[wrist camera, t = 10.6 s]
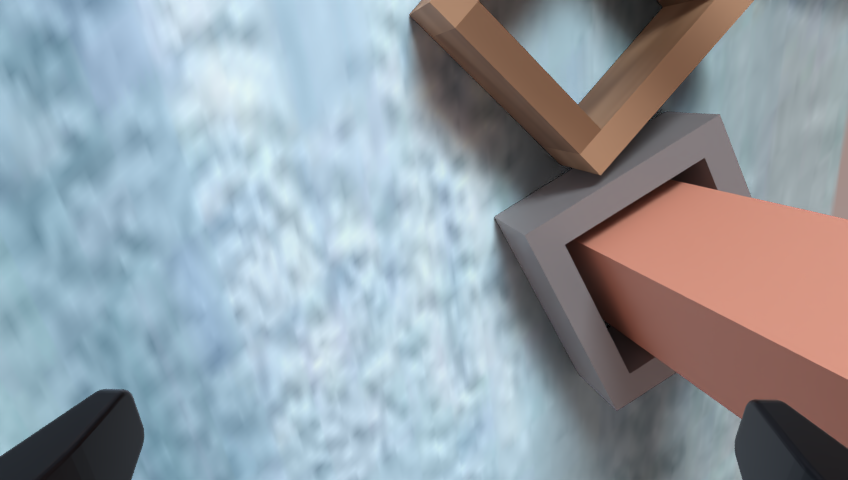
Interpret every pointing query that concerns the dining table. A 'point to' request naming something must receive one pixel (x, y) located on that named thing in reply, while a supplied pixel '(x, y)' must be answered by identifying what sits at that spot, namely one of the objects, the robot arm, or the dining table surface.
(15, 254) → the dining table surface
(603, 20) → the dining table surface
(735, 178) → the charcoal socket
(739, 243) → the peg
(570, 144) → the walnut socket
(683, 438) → the dining table surface
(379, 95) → the dining table surface
